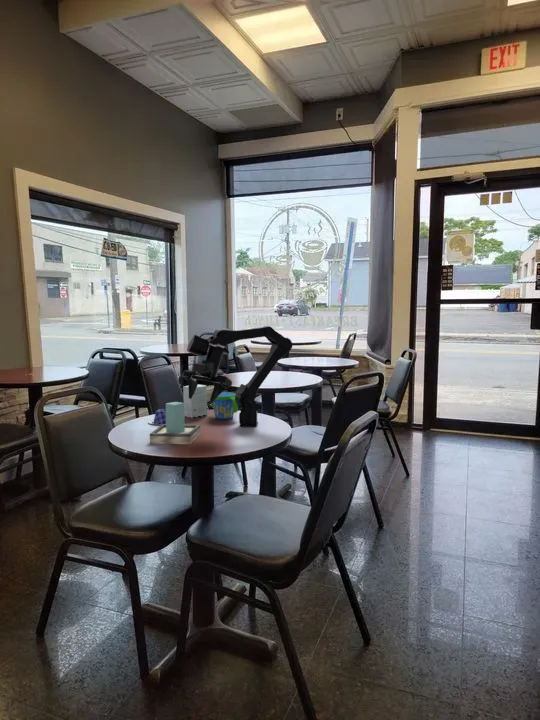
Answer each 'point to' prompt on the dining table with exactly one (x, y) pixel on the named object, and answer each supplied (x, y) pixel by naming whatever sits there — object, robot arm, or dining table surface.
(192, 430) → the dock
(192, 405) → the small box
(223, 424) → the dining table surface
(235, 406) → the snack cup
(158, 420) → the checkered hat
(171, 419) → the teal block
